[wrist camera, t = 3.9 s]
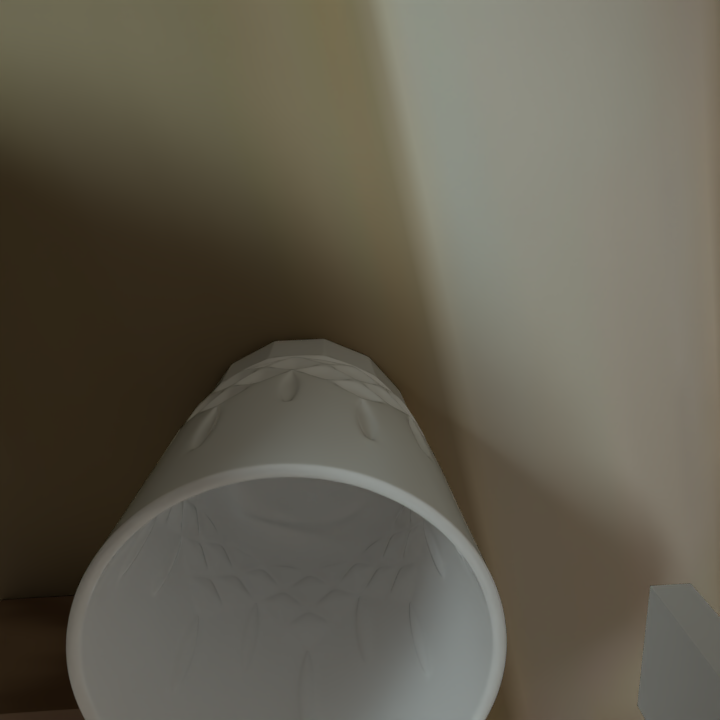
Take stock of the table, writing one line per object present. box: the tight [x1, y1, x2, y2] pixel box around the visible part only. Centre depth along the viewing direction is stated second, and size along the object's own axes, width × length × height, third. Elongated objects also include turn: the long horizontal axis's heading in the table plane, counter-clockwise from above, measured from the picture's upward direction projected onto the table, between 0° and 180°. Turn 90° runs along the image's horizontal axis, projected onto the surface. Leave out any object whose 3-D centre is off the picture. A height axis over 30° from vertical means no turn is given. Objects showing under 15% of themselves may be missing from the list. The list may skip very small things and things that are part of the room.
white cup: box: [66, 339, 507, 720], centre depth 17 cm, size 8×8×10 cm
